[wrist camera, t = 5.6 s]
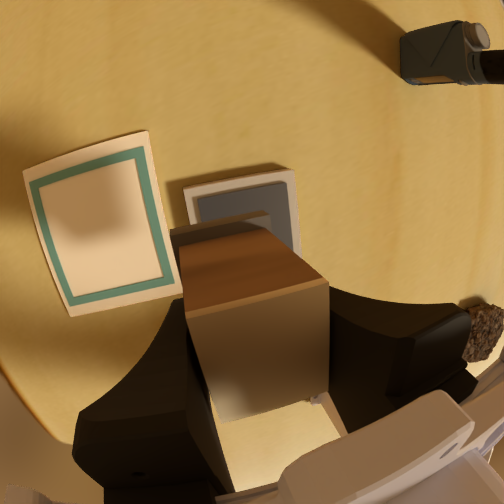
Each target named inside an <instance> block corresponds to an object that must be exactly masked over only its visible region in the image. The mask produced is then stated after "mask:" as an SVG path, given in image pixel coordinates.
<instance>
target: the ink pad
mask: <svg viewBox="0 0 504 504" xmlns="http://www.w3.org/2000/svg"><path fill="white" fill-rule="evenodd" d="M183 191H184V196H185V201H186V206H187V211H188V216H189V221H190V225H192V224H197V223H201V222H206V221H211V220H216V219H220V218H225V217H230V216H235V215H240V214H245V213H250V212H255V211H260V210H264V211H265V212H267V213H268V214H270V219H271V227H272V234H273V235H275V236H276V237H277V238H278V239H279V240H280V241H282V242H283V243H284V244H285V245H286V246H288V247H289V248H290V249H291V250H292V251H293V252H295V253H296V254H297V255H298V256H299V257H300V258H302V249H301V237H300V225H299V214H298V204H297V194H296V184H295V175H294V170H293V169H289V168H287V169H280V170H274V171H268V172H261V173H255V174H250V175H244V176H238V177H233V178H227V179H222V180H217V181H212V182H207V183H202V184H197V185H192V186H188V187H183Z"/></svg>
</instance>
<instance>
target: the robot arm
mask: <svg viewBox="0 0 504 504" xmlns="http://www.w3.org/2000/svg"><path fill="white" fill-rule="evenodd" d="M329 309H330V343H329V384H328V391H327V392H324V393H321V394H319V395H316V396H313V397H310V402H311V404H312V405H317V404H320V403H321V404H322V406H323V408H324V409H325V411H326V413H327V414H328V416H329V418H330V419H331V421H332V423H333V424H334V426H335V428H336V429H337V431H338V433H339V434H340V436H341V438H338V439H336V440H334V441H331V442H329V443H326V444H324V445H322V446H320V447H318V448H316V449H314V450H312V451H310V452H308V453H306V454H304V455H302V456H301V457H299V458H298V459H297V460H295V461H294V462H293V463H291V464H290V465H289V466H287V467H286V468H285V469H284V471H283V472H282V474H281V477H280V479H279V481H278V482H274V483H271V484H268V485H264V486H260V487H256V488H252V489H248V490H244V491H240V492H235V489H234V486H233V483H232V480H231V477H230V474H229V471H228V467H227V464H226V461H225V458H224V454H223V451H222V447H221V444H220V440H219V437H218V433H217V429H216V425H215V422H214V418H213V414H212V408H211V402H210V394H209V389H208V386H207V383H206V380H205V377H204V374H203V371H202V369H201V366H200V363H199V360H198V356H197V353H196V350H195V347H194V344H193V341H192V338H191V334H190V331H189V328H188V325H187V321H186V316H185V308H184V298H180V299H176V300H173V302H172V303H171V306H170V308H169V311H168V313H167V315H166V317H165V319H164V321H163V323H162V325H161V327H160V329H159V331H158V333H157V335H156V336H155V338H154V340H153V341H152V343H151V345H150V346H149V348H148V349H147V351H146V352H145V354H144V355H143V356H142V358H141V359H140V360H139V362H138V363H137V364H136V365H135V366H134V367H133V368H132V369H131V370H130V371H129V373H128V374H127V375H126V376H125V377H124V378H123V379H122V380H121V381H120V382H119V383H118V384H116V385H115V386H114V387H113V388H112V389H111V390H110V391H108V392H107V393H106V394H105V395H103V396H102V397H101V398H99V399H98V400H97V401H95V402H94V403H92V404H91V405H89V406H88V407H86V408H85V409H83V410H82V411H80V412H79V415H78V419H77V423H76V428H75V435H74V442H73V449H72V456H73V459H74V461H75V462H76V463H77V464H78V466H79V467H80V468H81V469H82V470H83V471H84V472H85V473H86V474H88V475H89V476H90V477H91V478H92V479H93V480H95V481H96V482H97V483H98V484H100V485H101V486H102V487H103V488H104V504H504V481H503V480H502V478H501V477H500V476H499V475H498V474H497V472H495V470H494V469H493V468H492V467H491V466H490V465H489V461H490V457H491V454H492V451H493V447H494V445H495V444H496V443H497V442H498V441H499V440H500V439H501V438H502V437H503V436H504V347H503V349H502V351H501V354H500V357H499V358H498V359H497V360H496V361H495V362H494V363H493V364H492V365H490V366H489V367H488V368H487V369H486V370H485V371H483V372H482V373H481V374H480V375H478V376H477V377H476V378H475V377H474V376H473V375H472V374H471V373H469V372H468V371H467V370H466V369H465V368H466V367H467V365H468V364H467V362H466V361H465V360H464V359H463V358H462V355H463V353H464V350H465V347H466V345H467V342H468V339H469V336H470V332H471V326H472V320H471V317H470V315H469V314H468V313H466V312H465V311H464V310H462V309H461V308H460V307H458V306H457V305H456V304H454V303H441V304H407V303H396V302H388V301H381V300H376V299H371V298H367V297H362V296H358V295H355V294H351V293H348V292H345V291H342V290H339V289H336V288H334V287H331V286H329ZM4 504H76V503H66V502H57V501H51V500H50V499H49V498H48V497H47V496H46V495H44V494H43V493H41V492H39V491H37V490H35V489H32V488H27V487H22V486H17V485H12V484H8V485H7V490H6V496H5V503H4Z"/></svg>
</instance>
